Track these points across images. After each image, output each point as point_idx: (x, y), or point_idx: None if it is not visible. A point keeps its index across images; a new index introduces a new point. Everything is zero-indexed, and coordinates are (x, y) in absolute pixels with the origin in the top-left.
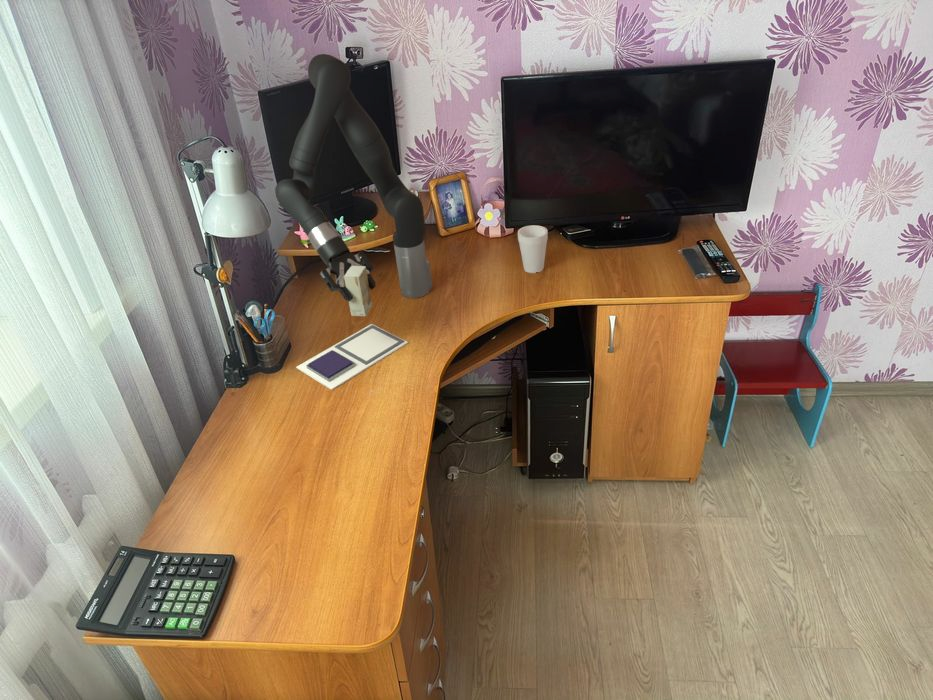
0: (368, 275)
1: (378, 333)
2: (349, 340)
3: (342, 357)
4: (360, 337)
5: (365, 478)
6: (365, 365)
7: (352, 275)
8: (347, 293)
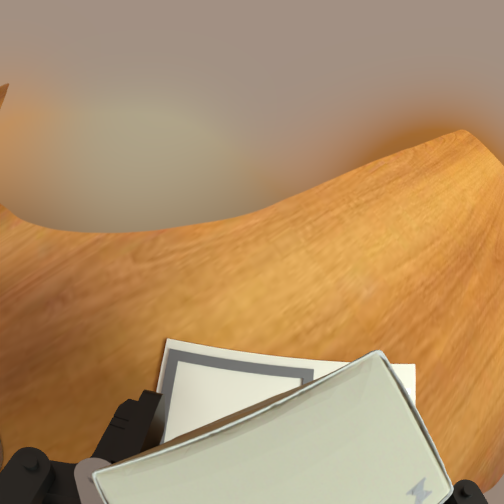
0: (117, 455)
1: None
2: None
3: None
4: None
5: (448, 190)
6: (315, 369)
7: (409, 434)
8: None
